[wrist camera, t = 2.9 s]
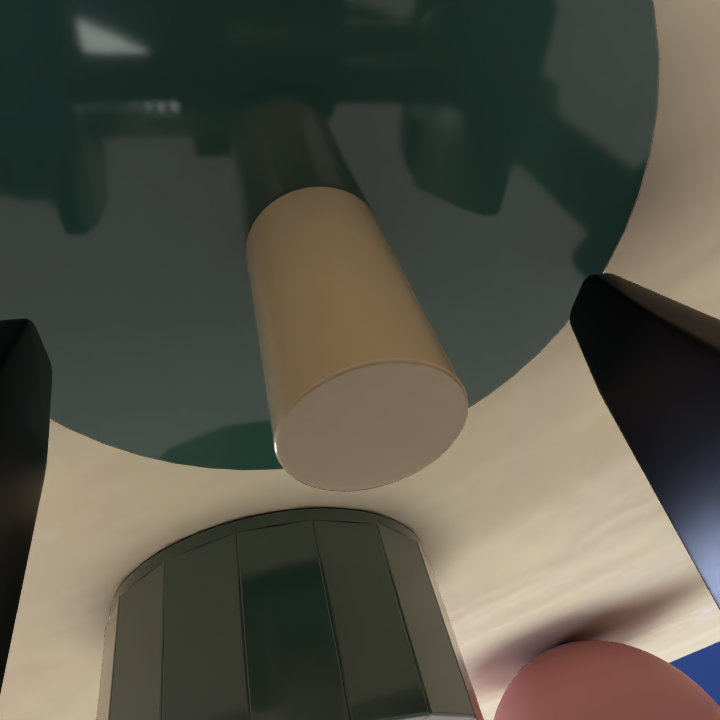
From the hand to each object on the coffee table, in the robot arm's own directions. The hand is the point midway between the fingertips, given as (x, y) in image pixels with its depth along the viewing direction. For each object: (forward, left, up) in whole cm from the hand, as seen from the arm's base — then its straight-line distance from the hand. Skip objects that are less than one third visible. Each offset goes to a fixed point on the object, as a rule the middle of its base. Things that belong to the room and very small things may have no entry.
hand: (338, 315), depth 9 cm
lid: (0, 0, -2) cm, 2 cm away
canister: (+1, +17, -3) cm, 17 cm away
